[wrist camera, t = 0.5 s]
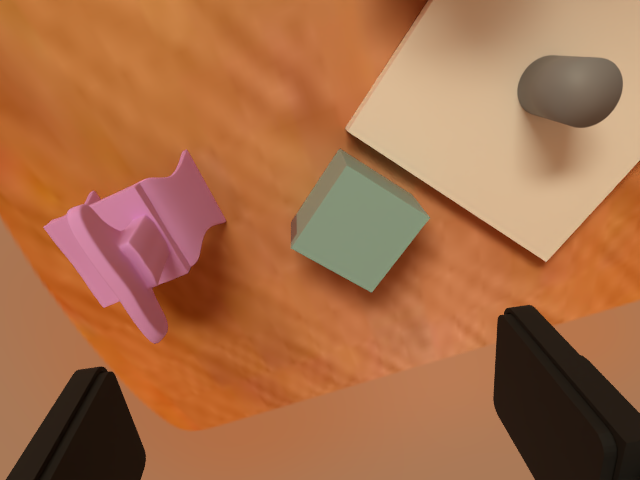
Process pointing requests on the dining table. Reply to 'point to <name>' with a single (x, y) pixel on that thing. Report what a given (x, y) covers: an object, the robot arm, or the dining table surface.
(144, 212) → the toy chair
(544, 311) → the dining table surface
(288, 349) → the dining table surface
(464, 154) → the post block
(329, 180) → the sage green cube
